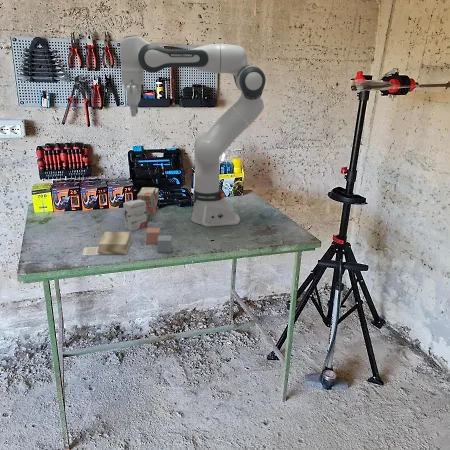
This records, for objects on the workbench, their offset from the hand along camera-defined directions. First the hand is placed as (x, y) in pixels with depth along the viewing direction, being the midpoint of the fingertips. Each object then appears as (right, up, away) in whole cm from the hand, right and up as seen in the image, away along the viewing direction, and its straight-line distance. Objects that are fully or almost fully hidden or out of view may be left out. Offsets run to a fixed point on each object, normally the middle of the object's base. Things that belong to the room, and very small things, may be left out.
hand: (134, 115), depth 172 cm
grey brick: (+14, -55, -12) cm, 58 cm away
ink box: (-1, -47, +9) cm, 48 cm away
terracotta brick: (+9, -52, -5) cm, 53 cm away
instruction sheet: (-12, -55, -15) cm, 59 cm away
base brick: (-5, -54, -11) cm, 56 cm away
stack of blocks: (+1, -40, +27) cm, 48 cm away
